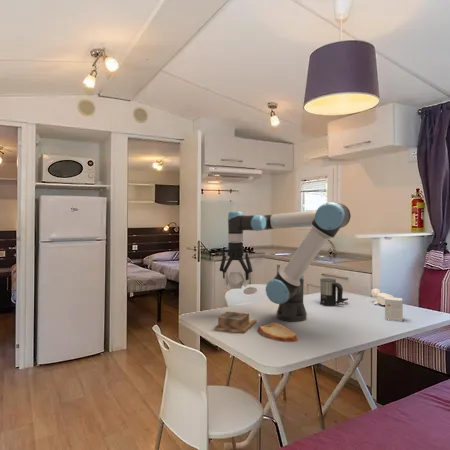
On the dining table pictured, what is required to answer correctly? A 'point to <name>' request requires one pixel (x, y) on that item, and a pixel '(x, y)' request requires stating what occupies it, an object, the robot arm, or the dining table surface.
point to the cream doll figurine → (379, 296)
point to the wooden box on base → (234, 322)
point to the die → (235, 280)
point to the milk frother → (330, 292)
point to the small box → (393, 308)
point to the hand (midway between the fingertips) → (235, 285)
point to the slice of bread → (277, 332)
